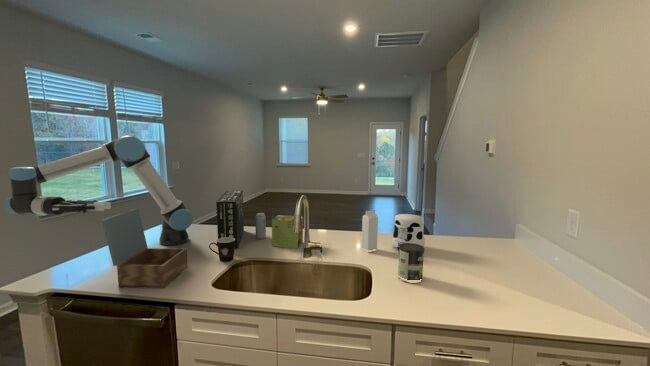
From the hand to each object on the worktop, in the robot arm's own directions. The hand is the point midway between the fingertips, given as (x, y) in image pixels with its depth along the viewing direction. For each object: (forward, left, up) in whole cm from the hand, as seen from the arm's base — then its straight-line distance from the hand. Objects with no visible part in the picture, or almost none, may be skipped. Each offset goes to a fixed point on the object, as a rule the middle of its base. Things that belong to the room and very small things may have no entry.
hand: (106, 206), depth 123 cm
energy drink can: (-75, -3, -30) cm, 81 cm away
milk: (-106, +55, -30) cm, 123 cm away
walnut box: (-13, +13, -30) cm, 35 cm away
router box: (-61, -12, -30) cm, 69 cm away
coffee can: (-91, +88, -30) cm, 130 cm away
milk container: (-124, +68, -30) cm, 145 cm away
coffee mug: (-43, +14, -30) cm, 54 cm away
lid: (-6, +6, -12) cm, 14 cm away
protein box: (-80, +17, -30) cm, 87 cm away
